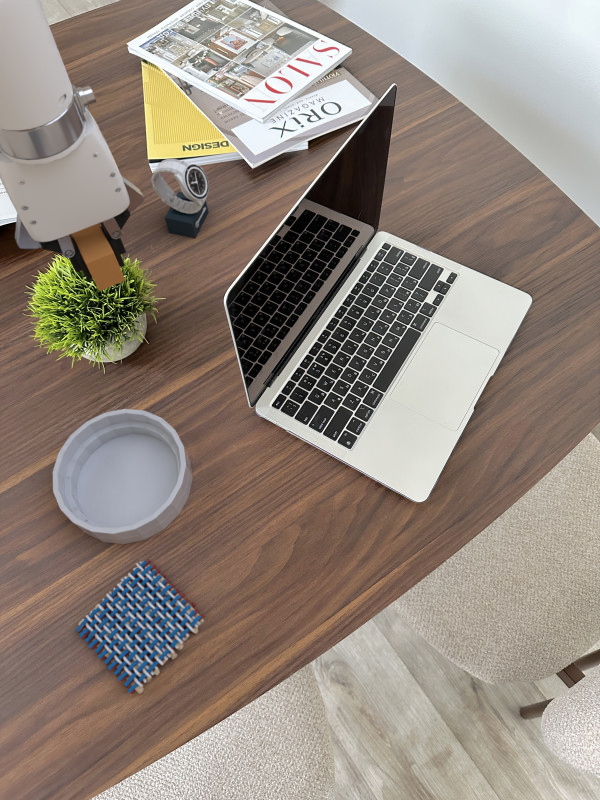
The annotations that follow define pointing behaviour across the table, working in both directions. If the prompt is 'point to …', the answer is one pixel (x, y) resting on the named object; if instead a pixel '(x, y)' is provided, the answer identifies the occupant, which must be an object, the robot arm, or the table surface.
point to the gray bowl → (122, 476)
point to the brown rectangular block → (98, 256)
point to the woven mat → (140, 625)
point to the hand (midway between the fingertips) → (101, 263)
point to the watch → (183, 196)
